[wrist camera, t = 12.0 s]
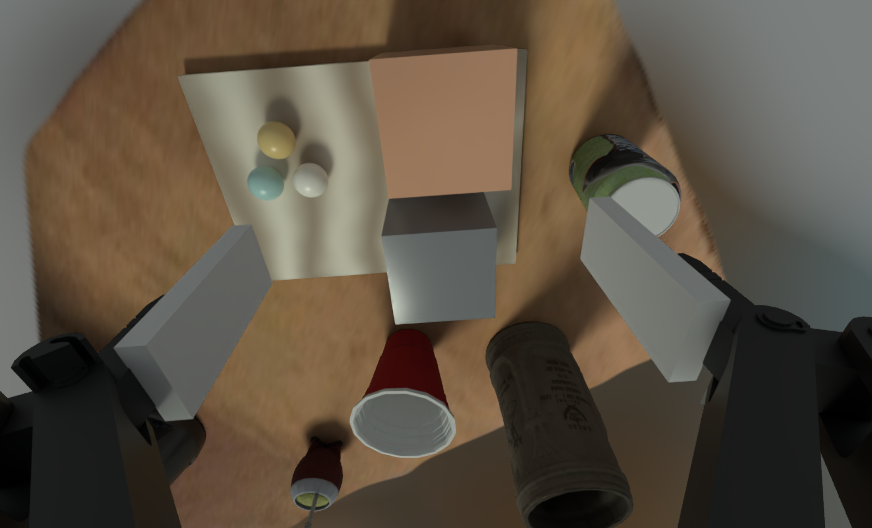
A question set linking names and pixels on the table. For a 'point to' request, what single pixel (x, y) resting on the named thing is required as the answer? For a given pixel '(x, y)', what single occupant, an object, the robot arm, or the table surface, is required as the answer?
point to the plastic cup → (405, 401)
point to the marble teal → (265, 183)
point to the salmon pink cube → (446, 119)
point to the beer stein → (554, 433)
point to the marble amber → (276, 140)
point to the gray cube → (440, 257)
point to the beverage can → (626, 181)
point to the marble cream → (310, 180)
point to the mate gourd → (317, 478)
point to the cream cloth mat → (327, 147)
